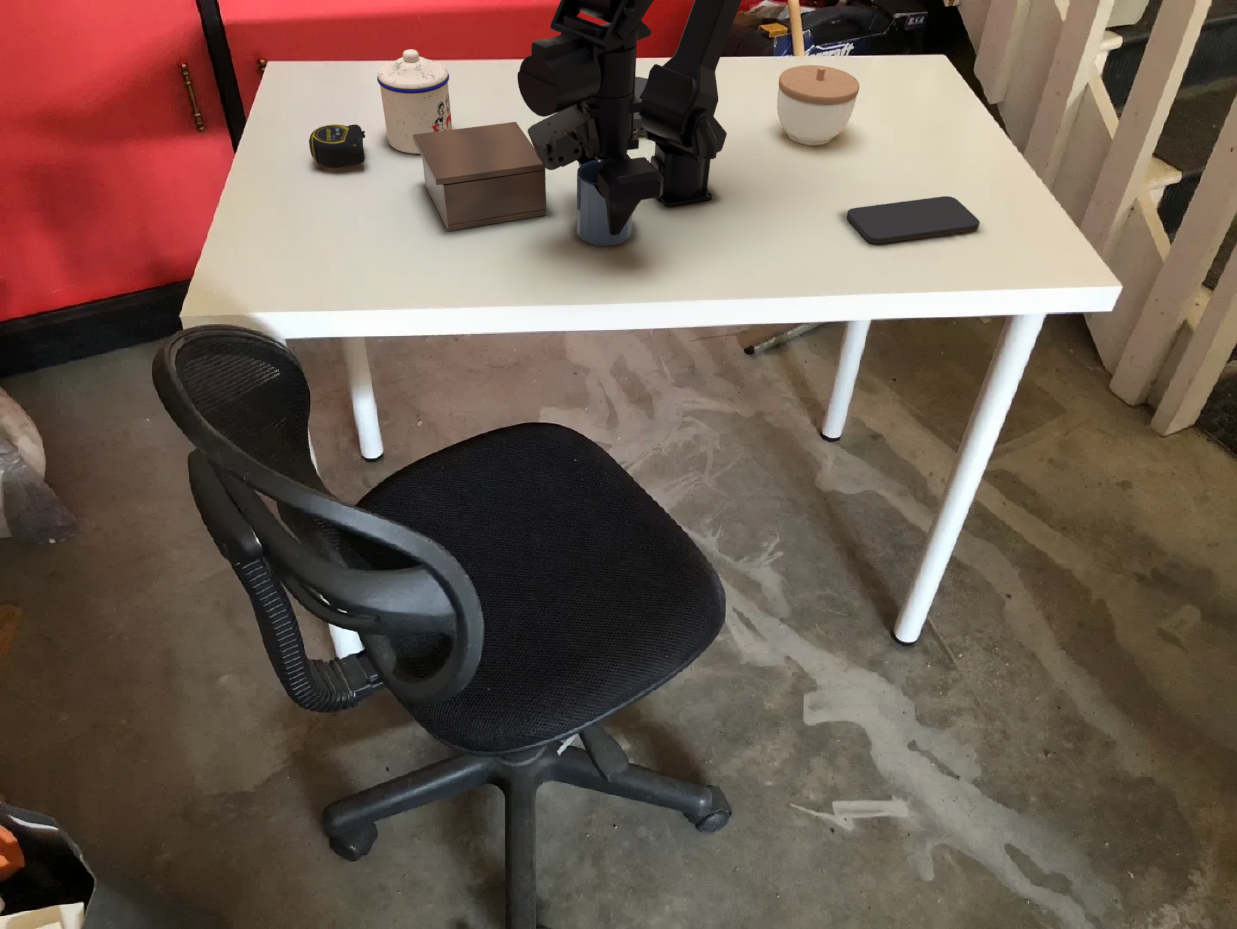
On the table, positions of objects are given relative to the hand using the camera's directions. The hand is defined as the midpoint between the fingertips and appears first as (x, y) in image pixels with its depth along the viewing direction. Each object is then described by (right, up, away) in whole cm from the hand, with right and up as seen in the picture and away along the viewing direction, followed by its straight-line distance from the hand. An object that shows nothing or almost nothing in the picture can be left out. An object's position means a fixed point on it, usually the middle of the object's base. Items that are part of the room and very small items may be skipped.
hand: (604, 219), depth 110 cm
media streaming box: (+2, +21, +24) cm, 32 cm away
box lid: (-15, +8, +1) cm, 17 cm away
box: (-15, +4, +5) cm, 16 cm away
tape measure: (-34, +11, +12) cm, 37 cm away
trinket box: (+28, +17, +21) cm, 39 cm away
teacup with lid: (-25, +16, +17) cm, 34 cm away
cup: (0, -1, +1) cm, 2 cm away
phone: (+38, +1, +5) cm, 38 cm away
